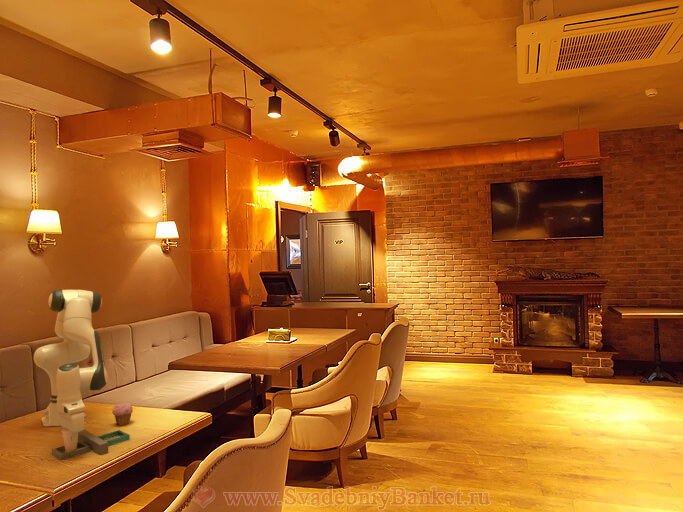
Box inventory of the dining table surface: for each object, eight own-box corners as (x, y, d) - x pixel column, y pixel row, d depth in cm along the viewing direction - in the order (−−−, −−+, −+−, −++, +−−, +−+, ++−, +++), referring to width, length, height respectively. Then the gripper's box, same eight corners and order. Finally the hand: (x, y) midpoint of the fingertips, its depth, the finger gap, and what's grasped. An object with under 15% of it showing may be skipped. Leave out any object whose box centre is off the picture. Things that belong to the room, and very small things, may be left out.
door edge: (76, 440, 209) (76, 431, 209) (84, 438, 211) (83, 429, 211) (100, 455, 192) (100, 444, 192) (108, 452, 194) (107, 442, 194)
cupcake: (109, 425, 229) (108, 404, 229) (126, 419, 236) (125, 399, 236) (120, 428, 224) (119, 406, 224) (137, 422, 231) (136, 401, 231)
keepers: (51, 453, 195) (51, 449, 195) (119, 434, 215) (119, 430, 215) (60, 460, 188) (60, 455, 188) (129, 439, 208) (129, 434, 208)
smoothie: (72, 456, 192) (70, 420, 192) (58, 455, 193) (57, 420, 193) (83, 449, 198) (82, 415, 198) (70, 449, 199) (69, 415, 200)
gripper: (52, 402, 201) (53, 435, 200) (69, 411, 187) (71, 446, 187) (69, 398, 205) (70, 431, 205) (87, 406, 191) (88, 441, 191)
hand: (70, 438), depth 196 cm, fingers closed on smoothie, 6 cm apart
